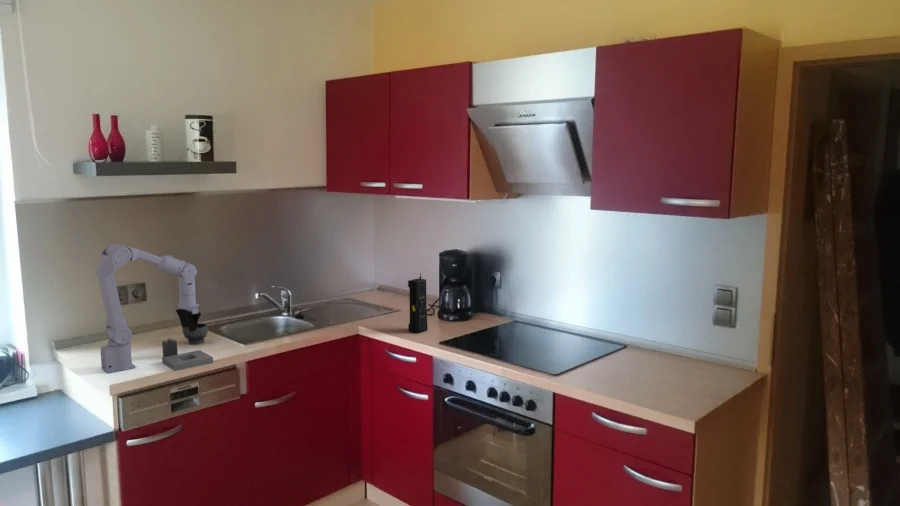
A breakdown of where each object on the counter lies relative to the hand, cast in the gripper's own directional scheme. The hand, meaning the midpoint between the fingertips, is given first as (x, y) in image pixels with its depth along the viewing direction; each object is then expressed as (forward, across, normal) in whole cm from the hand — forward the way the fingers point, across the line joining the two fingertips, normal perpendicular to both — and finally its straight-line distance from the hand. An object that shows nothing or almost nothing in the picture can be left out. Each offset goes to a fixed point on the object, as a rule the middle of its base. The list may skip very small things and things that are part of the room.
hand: (189, 329), depth 251 cm
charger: (+10, +1, +7) cm, 12 cm away
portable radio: (+9, -32, -86) cm, 93 cm away
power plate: (+10, -11, +5) cm, 15 cm away
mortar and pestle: (+10, +14, -7) cm, 18 cm away
